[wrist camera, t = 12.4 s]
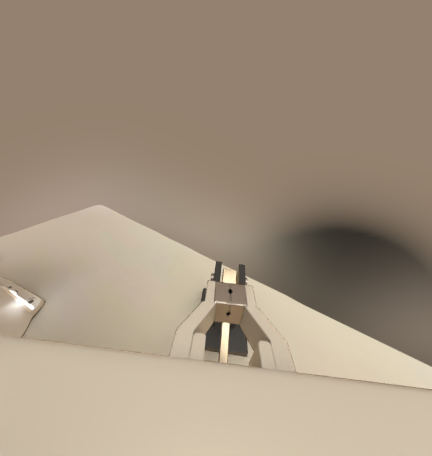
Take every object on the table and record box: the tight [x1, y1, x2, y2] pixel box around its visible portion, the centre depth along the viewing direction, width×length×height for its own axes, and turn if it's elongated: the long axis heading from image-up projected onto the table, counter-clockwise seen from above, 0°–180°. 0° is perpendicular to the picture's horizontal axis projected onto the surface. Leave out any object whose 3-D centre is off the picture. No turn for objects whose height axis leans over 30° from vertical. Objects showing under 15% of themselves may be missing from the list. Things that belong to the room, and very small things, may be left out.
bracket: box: [201, 261, 248, 356], centre depth 30 cm, size 12×10×15 cm
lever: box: [218, 269, 236, 364], centre depth 23 cm, size 14×5×2 cm, turn 174°
